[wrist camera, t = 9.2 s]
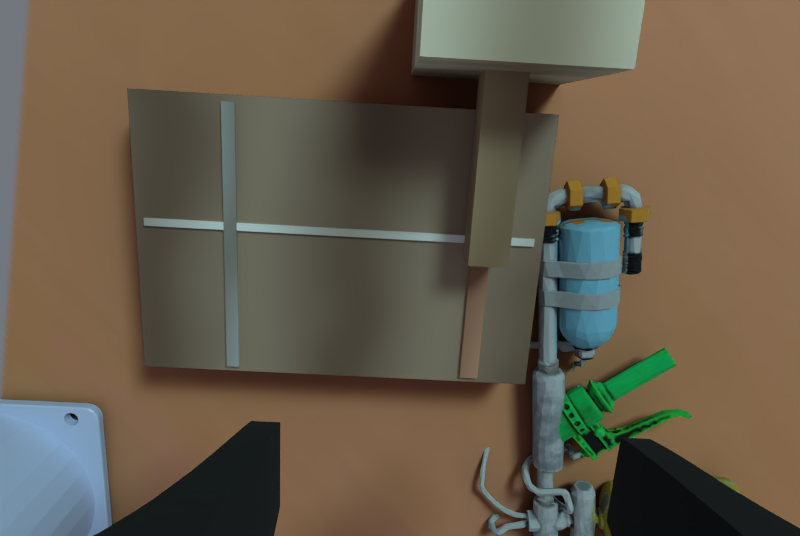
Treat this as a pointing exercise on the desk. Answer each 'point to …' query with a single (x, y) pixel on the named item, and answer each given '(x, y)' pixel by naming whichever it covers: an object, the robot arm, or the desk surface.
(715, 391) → the desk surface
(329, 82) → the desk surface
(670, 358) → the flamethrower
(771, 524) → the robot arm
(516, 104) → the joiner mallet
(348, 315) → the brown flat block
